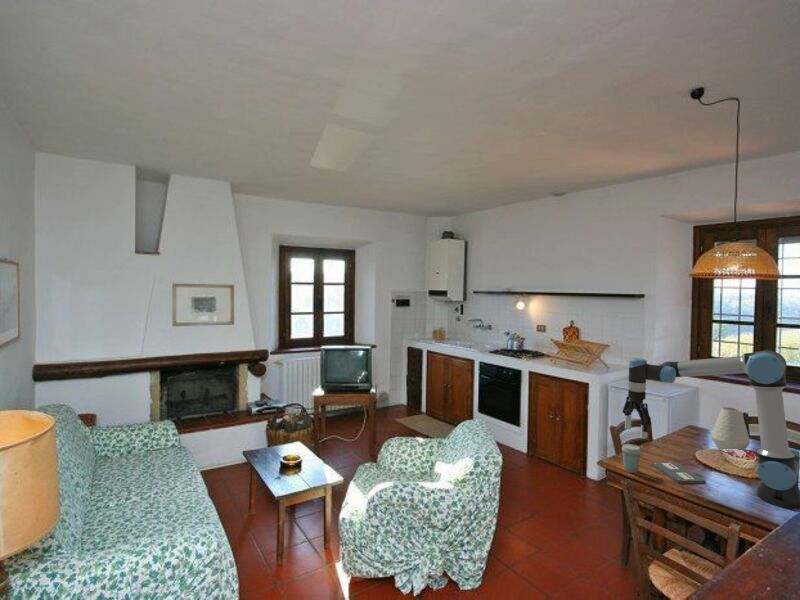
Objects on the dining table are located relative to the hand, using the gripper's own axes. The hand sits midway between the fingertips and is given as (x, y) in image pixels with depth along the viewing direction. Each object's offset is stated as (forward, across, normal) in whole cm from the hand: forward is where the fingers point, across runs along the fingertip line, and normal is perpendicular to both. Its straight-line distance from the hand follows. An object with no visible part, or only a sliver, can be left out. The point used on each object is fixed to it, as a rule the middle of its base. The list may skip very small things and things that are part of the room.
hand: (635, 433), depth 217 cm
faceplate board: (+19, -4, -19) cm, 27 cm away
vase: (+19, +24, -68) cm, 75 cm away
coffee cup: (+19, 0, +2) cm, 19 cm away
